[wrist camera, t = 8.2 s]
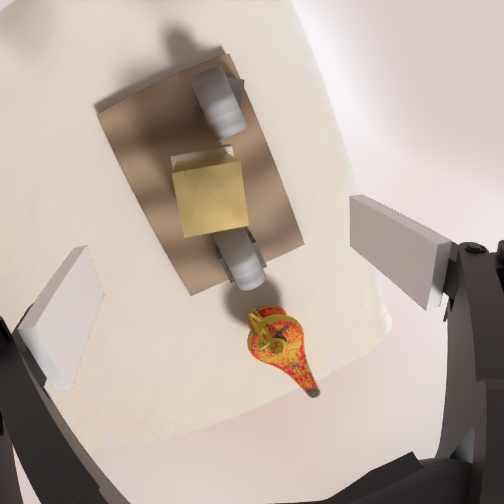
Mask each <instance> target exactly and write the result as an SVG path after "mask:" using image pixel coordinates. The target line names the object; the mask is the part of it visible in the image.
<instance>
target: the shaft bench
mask: <svg viewBox="0 0 504 504" xmlns="http://www.w3.org/2000/svg"><path fill="white" fill-rule="evenodd" d="M97 117H98V119H99V121H100V124H101V126H102V128H103V130H104V132H105V135H106V137H107V139H108V141H109V143H110V145H111V148H112V150H113V152H114V154H115V156H116V158H117V160H118V162H119V164H120V166H121V168H122V170H123V172H124V174H125V176H126V178H127V180H128V182H129V184H130V186H131V188H132V190H133V192H134V194H135V196H136V198H137V200H138V202H139V204H140V206H141V208H142V210H143V212H144V213H145V215H146V217H147V219H148V221H149V223H150V225H151V227H152V228H153V230H154V232H155V234H156V236H157V238H158V239H159V241H160V243H161V245H162V247H163V248H164V250H165V252H166V254H167V256H168V257H169V259H170V261H171V263H172V264H173V266H174V268H175V270H176V271H177V273H178V275H179V277H180V278H181V280H182V282H183V283H184V285H185V287H186V288H187V290H188V292H189V294H190V295H191V296H193V295H195V294H197V293H199V292H201V291H204V290H206V289H208V288H210V287H213V286H215V285H217V284H219V283H222V282H224V281H226V280H228V279H229V280H230V282H231V283H232V282H236V284H237V286H238V288H239V289H240V290H243V291H248V290H252V289H254V288H257V287H258V286H260V285H261V284H262V283H263V282H264V281H265V279H266V275H265V273H264V271H263V268H265V267H267V266H266V262H268V261H270V260H272V259H274V258H276V257H279V256H281V255H283V254H285V253H287V252H289V251H292V250H294V249H296V248H298V247H300V246H302V245H305V244H304V241H303V238H302V235H301V233H300V230H299V227H298V224H297V221H296V219H295V216H294V213H293V210H292V207H291V205H290V202H289V199H288V197H287V194H286V191H285V189H284V186H283V183H282V181H281V178H280V175H279V173H278V170H277V167H276V165H275V162H274V160H273V157H272V155H271V152H270V150H269V147H268V144H267V142H266V139H265V137H264V134H263V132H262V129H261V127H260V125H259V122H258V120H257V117H256V115H255V112H254V110H253V108H252V105H251V103H250V100H249V98H248V96H247V93H246V91H245V89H244V80H242V79H240V77H239V75H238V72H237V70H236V68H235V65H234V63H233V61H232V59H231V56H230V54H226V55H223V56H221V57H218V58H215V59H213V60H210V61H207V62H205V63H202V64H200V65H197V66H195V67H192V68H190V69H187V70H185V71H183V72H180V73H178V74H176V75H173V76H171V77H169V78H167V79H164V80H162V81H160V82H158V83H156V84H154V85H152V86H150V87H148V88H146V89H144V90H141V91H140V92H138V93H136V94H134V95H132V96H130V97H128V98H126V99H124V100H122V101H120V102H119V103H117V104H115V105H113V106H111V107H110V108H108V109H106V110H104V111H103V112H101V113H99V114H97ZM225 152H228V153H229V154H231V155H232V156H234V157H235V158H236V159H238V160H239V161H240V163H241V170H242V177H243V185H244V192H245V200H246V207H247V215H248V222H249V226H245V227H239V228H234V229H228V230H223V231H218V232H213V233H207V234H202V235H197V236H192V237H187V238H184V233H183V229H182V224H181V219H180V214H179V209H178V204H177V199H176V194H175V189H174V184H173V178H172V171H173V168H174V165H175V163H176V161H180V160H185V159H190V158H195V157H201V156H207V155H212V154H218V153H225Z"/></svg>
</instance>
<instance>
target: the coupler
mask: <svg viewBox="0 0 504 504" xmlns="http://www.w3.org/2000/svg"><path fill="white" fill-rule="evenodd" d="M172 178H173V184H174V189H175V194H176V199H177V204H178V209H179V214H180V219H181V224H182V229H183V233H184V238H187V237H192V236H197V235H202V234H207V233H213V232H218V231H223V230H228V229H234V228H239V227H245V226H249V222H248V215H247V207H246V200H245V192H244V185H243V177H242V170H241V163H240V161H239V160H238V159H236V158H235V157H234V156H232V155H231V154H229V153H228V152H225V153H218V154H212V155H207V156H201V157H195V158H190V159H185V160H180V161H176V163H175V165H174V168H173V171H172Z"/></svg>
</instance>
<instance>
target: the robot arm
mask: <svg viewBox="0 0 504 504" xmlns="http://www.w3.org/2000/svg"><path fill="white" fill-rule="evenodd" d="M350 246H351V247H352V248H353V249H354V250H355V251H357V252H358V253H359V254H360V255H362V256H363V257H364V258H365V259H366V260H368V261H369V262H370V263H371V264H372V265H374V266H375V267H376V268H377V269H378V270H379V271H381V272H382V273H383V274H384V275H385V276H387V277H388V278H389V279H390V280H391V281H392V282H393V283H395V284H396V285H397V286H398V287H399V288H400V289H402V290H403V291H404V292H405V293H406V294H407V295H408V296H410V297H411V298H412V299H413V300H414V301H415V302H416V303H417V304H418V305H420V306H421V307H422V308H423V309H424V310H425V311H428V310H431V309H433V308H436V307H438V306H440V304H441V299H442V294H443V292H444V293H445V294H446V295H448V296H449V299H448V303H447V308H446V312H445V316H444V320H443V321H446V319H448V356H447V357H448V358H447V381H446V394H445V405H444V415H443V423H442V431H441V438H440V444H439V448H438V451H437V454H436V456H435V458H430V459H424V460H417V458H416V456H415V455H414V453H413V452H410V453H408V454H406V455H404V456H402V457H400V458H398V459H396V460H394V461H392V462H389V463H387V464H385V465H383V466H380V467H379V468H376V469H374V470H371V471H370V472H368V473H367V474H365V475H364V476H363V477H361V478H360V479H358V480H357V481H355V482H354V483H352V484H351V485H349V486H348V487H346V488H345V489H343V490H342V491H340V492H339V493H337V494H335V495H334V496H332V497H330V498H328V499H326V500H322V501H312V502H299V503H279V504H504V240H502V241H500V242H499V244H498V249H497V252H495V253H494V252H493V253H489V251H488V250H487V249H486V248H485V247H484V246H482V245H480V244H477V243H474V242H464V243H461V244H459V245H458V244H456V243H454V242H452V241H451V240H449V239H448V238H446V237H444V236H442V235H440V234H439V233H437V232H435V231H433V230H431V229H430V228H427V227H426V226H424V225H422V224H420V223H418V222H416V221H414V220H412V219H410V218H409V217H407V216H405V215H403V214H401V213H399V212H397V211H395V210H393V209H391V208H389V207H387V206H385V205H383V204H381V203H379V202H377V201H375V200H373V199H371V198H368V197H366V196H364V195H356V196H350ZM103 296H104V293H103V290H102V288H101V285H100V282H99V279H98V276H97V274H96V271H95V268H94V265H93V262H92V259H91V256H90V253H89V250H88V246H87V245H86V246H82V247H78V248H74V249H73V250H72V251H71V253H70V254H69V255H68V256H67V258H66V259H65V260H64V262H63V263H62V264H61V266H60V267H59V268H58V270H57V271H56V272H55V274H54V275H53V277H52V278H51V279H50V281H49V282H48V284H47V285H46V286H45V288H44V289H43V291H42V292H41V293H40V295H39V296H38V298H37V299H36V301H35V302H34V303H33V304H32V305H31V306H30V307H29V308H28V309H27V311H26V312H25V314H24V316H23V317H22V318H21V320H20V322H19V323H18V325H17V326H16V328H15V329H14V331H13V333H12V334H11V333H10V331H9V329H8V327H7V325H6V324H5V322H4V320H3V318H2V317H0V504H23V500H22V496H21V492H20V487H19V483H18V477H17V472H16V467H15V461H14V454H13V447H12V444H13V446H14V449H15V451H16V454H17V456H18V458H19V460H20V462H21V465H22V467H23V469H24V471H25V473H26V475H27V477H28V479H29V482H30V484H31V485H32V487H33V489H34V491H35V493H36V495H37V497H38V499H39V500H40V502H41V504H130V503H129V502H128V501H127V499H126V498H125V497H124V496H123V495H122V494H121V493H120V492H119V491H118V490H117V488H116V487H115V486H114V485H113V484H112V483H111V482H110V480H109V479H108V478H107V477H106V476H105V474H104V473H103V472H102V471H101V470H100V468H99V467H98V466H97V465H96V463H95V462H94V461H93V459H92V458H91V457H90V456H89V454H88V453H87V452H86V450H85V449H84V447H83V446H82V445H81V443H80V442H79V441H78V439H77V438H76V436H75V435H74V433H73V432H72V430H71V429H70V428H69V426H68V425H67V423H66V421H65V420H64V418H63V417H62V415H61V414H60V412H59V411H58V409H57V407H56V406H55V404H54V402H53V401H52V399H51V397H50V396H49V394H48V392H47V391H46V390H45V388H44V385H45V382H46V380H48V382H49V383H50V385H51V386H52V388H53V389H54V391H63V390H72V387H73V383H74V380H75V376H76V373H77V370H78V367H79V364H80V360H81V357H82V354H83V351H84V348H85V345H86V342H87V339H88V337H89V334H90V331H91V328H92V325H93V323H94V320H95V317H96V314H97V312H98V309H99V307H100V304H101V301H102V299H103Z"/></svg>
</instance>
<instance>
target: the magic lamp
mask: <svg viewBox="0 0 504 504" xmlns="http://www.w3.org/2000/svg"><path fill="white" fill-rule="evenodd" d="M253 310H254V312H255V313H254V314H253V313H248V317H249V319H250V322H249V327H250V333H249V335H248V340H247V342H248V349H249V351H250V352H251V354H252V355H253V356H254V357H255V358H256V359H258V360H260V361H262V362H264V363H267V364H270V365H273V366H275V367H277V368H279V369H280V370H282V371H284V372H285V373H287V374H288V375H289V376H290V377H291V378H292V379H293V380H294V381H295V382H296V383H297V384H298V385H299V386H300V387H301V388H302V389H303V390H304V391H305V392H306V393H307V394H308V396H310V397H311V398H315V397H318V396H319V395H320V390H319V388H318V386H317V384H316V382H315V380H314V377H313V375H312V373H311V370H310V368H309V365H308V362H307V359H306V355H305V349H304V332H303V328H302V326H301V325H300V324H299V322H298V321H297V320H295V319H294V318H292V317H290V316H287V314H286V312H285V311H284V310H283V309H282V308H281V307H278V306H265V307H262V308H260V309H258V310H257V311H256V309H254V308H253Z"/></svg>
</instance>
